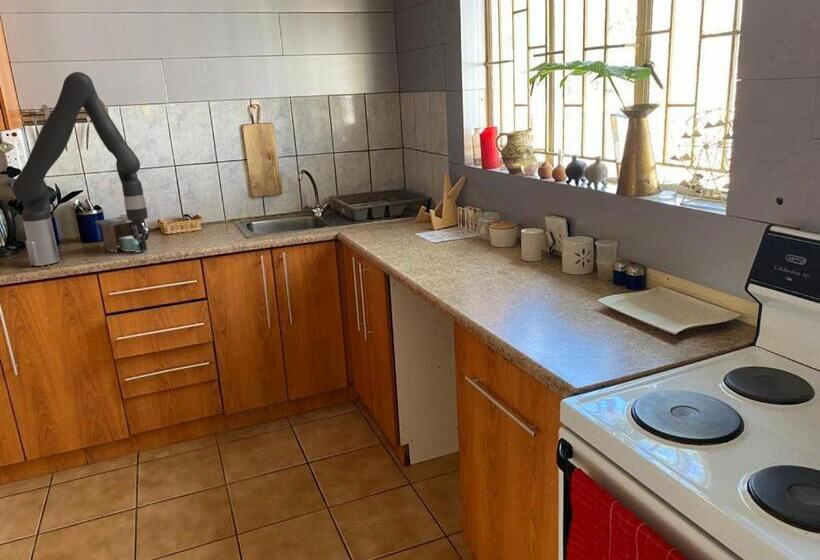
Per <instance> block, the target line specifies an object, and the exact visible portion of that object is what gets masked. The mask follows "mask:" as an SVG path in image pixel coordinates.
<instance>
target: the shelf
mask: <svg viewBox="0 0 820 560" xmlns="http://www.w3.org/2000/svg"><path fill="white" fill-rule="evenodd" d="M94 222H95V225H99V226H100V229H101V234H102V240H103V245H104V249H105V248H106V249H109V250H113V251H118V252H119V248H118V247H117V246H120V245H119V239H118V238H121V237H126V236H131V235H133V234H132V232H131V230H130V228H129V227H130V226H132V221H129V220H128V219H127V216H122V217H121V216H118V217H117V216H116V217H111V218H106V219H100V220H96V221H94Z"/></svg>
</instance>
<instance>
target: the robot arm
mask: <svg viewBox="0 0 820 560" xmlns="http://www.w3.org/2000/svg"><path fill="white" fill-rule="evenodd" d="M82 108H83V109H84V111H85V113H87V116H88V117H89V119H90V121H91V123H92V125H93V128H94V129H95V131H96V134H97V135H98V137H99V139H100V140H101V142H102V143H103V145H104V146H105V148H106V150H107V151H108V153H109V152H110V154H112V155H113V157H114V158H115V161H116V163H115V165H116V166H115V167H116V170H117V175H118V177H119V181H120V182H121V187H122V193H123V201H124V208H125V212H126V215H127V219H128V220H129V221H132V226H130V227H129V228H130V230H131V232H132V234H133V236H134V238H135V240H136V239H137V241H138V243H139V248H140V251H144V252H146V251H147V250H148V248H147V243H146V241H148V240H149V239H148V237H149V238H150V232H151V229H150V227H148V226H147V227H146V223H147V222H146V223H145V219H146V220H147V219H148V218H149V215H148V209H147V204H146V199H145V195H144V190H143V185H142V182H141V180H139V178H138V171H140V168H141V161H140V160H139V158H138V156H137V155H136V154H135V152H134V151H133V150H132V148H131V147H130V146H129V145H128V144H127V142H126V141H125V138H123V136H122V134H121V132H120V131H119V129H118V127H117V126H116V124H115V123H114V121H113V120H112V119H111V116H109V114H108V112H107V110H106V109H105V107H104V105H103V104H102V102H101V99H100V98H99V95H98V93H97V91H96V88H95V86H94V83H93V80H92V79H91V77H90V76H89V75H88V74H86V73H84V72H81V71H74V72H71V73H69V74H68V75H67V77H65V79H64V81H63V85H62V88H61V91H60V93H59V97H58V99H57V102H56V104H55V106H54V108H53V110H52V111H51V112H50V114H49V115H48V117H47V118H46V120H45V122H44V123H43V125H42V127H41V129H40V131H39V133H38V135H37V138H36V140H35V143H34V145H33V147H32V149H31V151H30V154H29V156H28V159H27V160H26V162H25V165H24V166H23V168H22V169H21V171H20V172H19V174H18V176H17V177H16V179H15V180H14V182H13V185H12V194H13V196H14V198H15V199H16V200H17V201H19V202H21V203H23V210H22V213H21V220H22V224H23V228H24V232H25V237H26V240H25V244H26V245H25V246H26V250H27V255H28V260H29V263H30V265H31V264H33V265H35V266H38V265H45V264H51V263H55V262H58V261H59V260H60V256H59V255H60V254H59V251H58V247H57V246H58V245H57V241H56V236H55V232H54V226H53V222H52V216H51V201H50V194H49V188H48V186H47V183H46V182H45V178H46V175H47V173H48V172H49V171H50V170H51V168H52V166H54V164H55V163H56V162H57V161H58V159H60V157H61V155H62V154H63V152H64V151H65V149H66V147H67V145H68V144H69V141H70V139H71V136H72V134H73V132H74V131H73V130H74V128H75V125H76V120H77V117H78V115H79V114H80V111H81V110H82ZM60 261H61V260H60Z"/></svg>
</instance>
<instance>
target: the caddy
mask: <svg viewBox="0 0 820 560" xmlns="http://www.w3.org/2000/svg"><path fill="white" fill-rule="evenodd" d="M118 239H119V245H120V247H119V249H124V250H128V251H130V250H135V251H140V248H139V243H138V241H137V239H136V240H135V238H134V236H133V235H131V236H126V237H121V238H118Z"/></svg>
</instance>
